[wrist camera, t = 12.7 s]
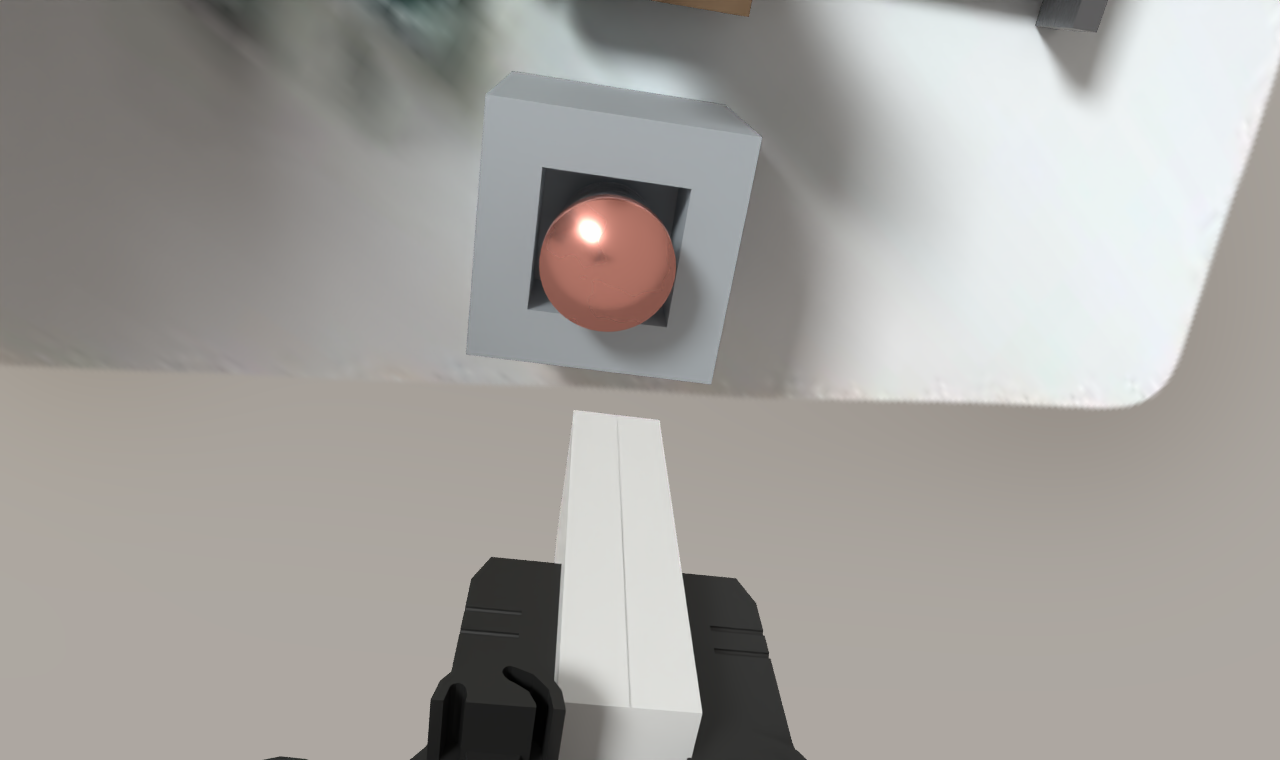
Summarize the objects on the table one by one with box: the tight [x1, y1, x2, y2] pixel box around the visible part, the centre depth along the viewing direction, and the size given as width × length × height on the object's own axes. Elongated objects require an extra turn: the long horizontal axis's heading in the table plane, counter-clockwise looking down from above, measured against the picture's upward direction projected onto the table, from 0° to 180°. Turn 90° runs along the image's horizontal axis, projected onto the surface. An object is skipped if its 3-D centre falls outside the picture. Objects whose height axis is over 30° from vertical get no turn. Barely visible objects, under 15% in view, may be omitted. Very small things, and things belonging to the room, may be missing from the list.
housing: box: [466, 71, 762, 384], centre depth 33 cm, size 9×9×9 cm
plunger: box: [539, 182, 676, 332], centre depth 29 cm, size 4×4×5 cm
